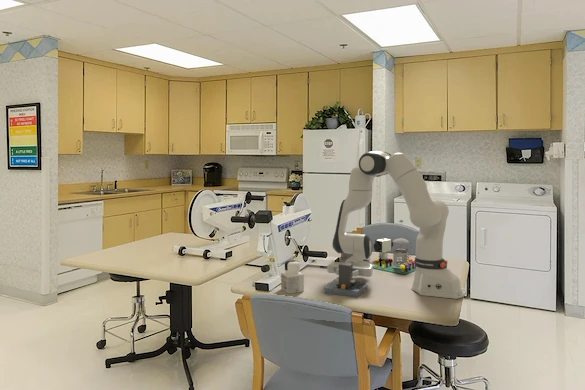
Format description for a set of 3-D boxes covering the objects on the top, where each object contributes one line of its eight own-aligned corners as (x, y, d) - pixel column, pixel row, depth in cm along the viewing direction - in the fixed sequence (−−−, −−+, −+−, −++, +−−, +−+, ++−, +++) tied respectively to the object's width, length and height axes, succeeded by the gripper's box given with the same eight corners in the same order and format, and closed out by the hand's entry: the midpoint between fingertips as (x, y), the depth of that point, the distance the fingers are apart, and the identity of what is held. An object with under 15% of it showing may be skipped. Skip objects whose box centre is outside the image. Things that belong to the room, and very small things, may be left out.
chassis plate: (334, 284, 211) (334, 279, 210) (366, 288, 205) (366, 282, 204) (324, 293, 198) (324, 287, 198) (358, 297, 192) (358, 291, 192)
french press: (387, 265, 244) (388, 218, 242) (407, 264, 247) (408, 217, 245) (396, 270, 235) (397, 221, 232) (417, 268, 237) (417, 220, 235)
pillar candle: (350, 254, 271) (350, 229, 270) (361, 257, 263) (361, 231, 262) (337, 256, 266) (337, 231, 265) (348, 260, 258) (347, 233, 257)
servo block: (338, 284, 205) (338, 262, 204) (355, 286, 201) (355, 264, 200) (333, 288, 199) (333, 265, 198) (351, 290, 196) (351, 267, 195)
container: (281, 289, 205) (280, 260, 203) (297, 286, 208) (296, 258, 206) (287, 293, 198) (287, 264, 196) (304, 291, 201) (303, 262, 199)
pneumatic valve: (393, 258, 261) (393, 237, 260) (379, 261, 254) (379, 239, 253) (385, 256, 265) (386, 235, 264) (371, 259, 258) (372, 238, 257)
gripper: (332, 257, 216) (322, 264, 204) (375, 261, 208) (367, 268, 195) (332, 270, 217) (322, 278, 204) (375, 275, 209) (367, 283, 196)
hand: (345, 273), depth 200 cm, fingers closed on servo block, 5 cm apart
